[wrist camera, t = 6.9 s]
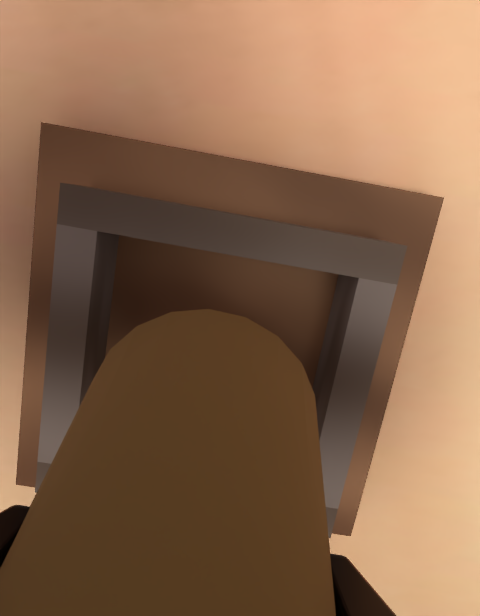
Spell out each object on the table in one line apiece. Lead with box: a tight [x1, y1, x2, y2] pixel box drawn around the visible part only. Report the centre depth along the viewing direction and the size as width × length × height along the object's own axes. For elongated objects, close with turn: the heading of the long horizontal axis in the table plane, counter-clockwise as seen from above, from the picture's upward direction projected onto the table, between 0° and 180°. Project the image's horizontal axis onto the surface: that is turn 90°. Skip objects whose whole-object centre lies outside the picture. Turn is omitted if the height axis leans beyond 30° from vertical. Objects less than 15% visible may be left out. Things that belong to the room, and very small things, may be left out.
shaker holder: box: [16, 122, 444, 538], centre depth 16 cm, size 14×14×4 cm
